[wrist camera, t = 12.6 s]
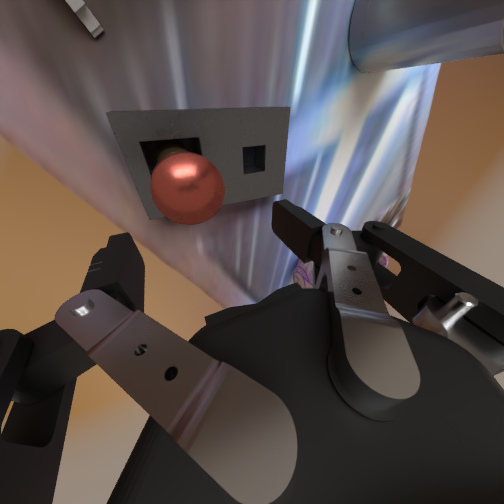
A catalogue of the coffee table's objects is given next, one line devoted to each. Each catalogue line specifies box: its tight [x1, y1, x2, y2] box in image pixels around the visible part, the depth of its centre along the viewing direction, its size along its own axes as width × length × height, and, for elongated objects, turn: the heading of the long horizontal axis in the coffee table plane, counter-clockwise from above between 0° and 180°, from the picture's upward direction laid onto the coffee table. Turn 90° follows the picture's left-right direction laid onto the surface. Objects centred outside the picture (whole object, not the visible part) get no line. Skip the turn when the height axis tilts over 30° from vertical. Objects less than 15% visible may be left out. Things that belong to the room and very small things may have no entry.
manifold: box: [106, 107, 290, 220], centre depth 23 cm, size 18×10×4 cm, turn 91°
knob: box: [150, 143, 225, 225], centre depth 19 cm, size 6×6×11 cm
